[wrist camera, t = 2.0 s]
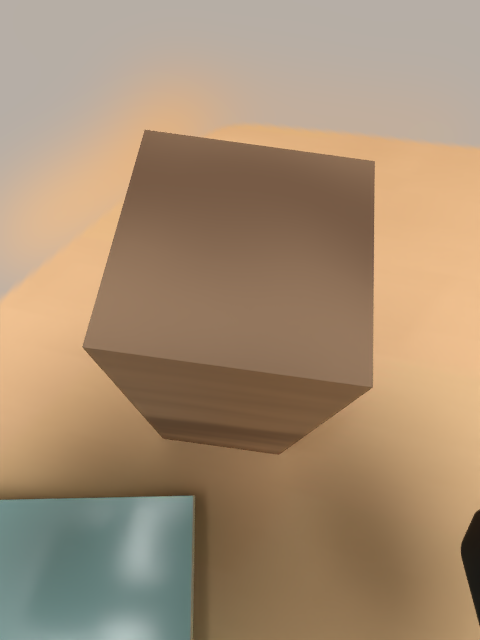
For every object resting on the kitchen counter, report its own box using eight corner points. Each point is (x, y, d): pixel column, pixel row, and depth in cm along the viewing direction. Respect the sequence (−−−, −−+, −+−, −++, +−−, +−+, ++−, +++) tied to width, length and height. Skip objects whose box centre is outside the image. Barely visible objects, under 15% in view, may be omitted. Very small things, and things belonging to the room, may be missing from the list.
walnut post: (278, 454, 18) (372, 387, 7) (163, 438, 18) (82, 347, 7) (288, 344, 20) (374, 161, 9) (183, 330, 20) (144, 130, 9)
